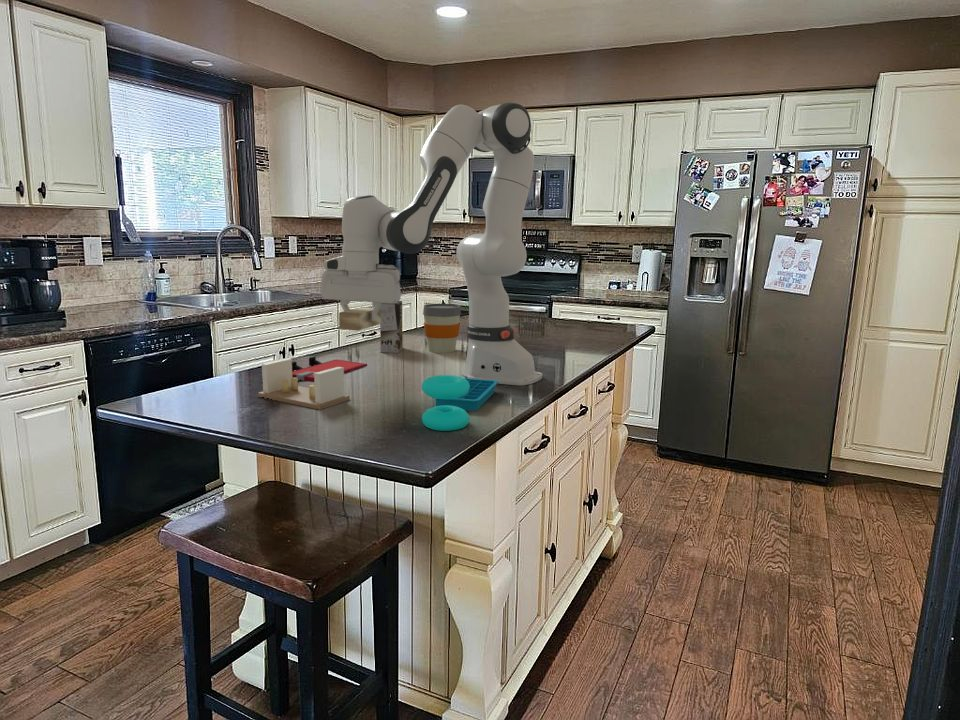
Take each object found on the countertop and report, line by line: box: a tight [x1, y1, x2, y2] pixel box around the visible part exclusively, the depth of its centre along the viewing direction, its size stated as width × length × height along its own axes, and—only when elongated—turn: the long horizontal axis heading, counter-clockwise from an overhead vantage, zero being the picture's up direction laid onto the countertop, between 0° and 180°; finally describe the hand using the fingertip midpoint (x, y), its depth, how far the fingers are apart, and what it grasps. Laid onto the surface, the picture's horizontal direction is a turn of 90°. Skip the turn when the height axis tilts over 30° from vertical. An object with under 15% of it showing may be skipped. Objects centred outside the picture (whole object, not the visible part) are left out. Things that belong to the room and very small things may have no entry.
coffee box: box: [379, 300, 403, 354], centre depth 211 cm, size 9×6×16 cm
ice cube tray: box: [433, 377, 499, 412], centre depth 155 cm, size 12×20×3 cm, turn 165°
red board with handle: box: [259, 356, 368, 382], centre depth 179 cm, size 30×3×15 cm
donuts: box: [421, 374, 470, 432], centre depth 134 cm, size 10×10×10 cm
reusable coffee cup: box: [422, 303, 462, 354], centre depth 212 cm, size 13×13×15 cm
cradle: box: [257, 357, 350, 411], centre depth 153 cm, size 20×10×8 cm, turn 60°
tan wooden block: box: [338, 306, 381, 332], centre depth 159 cm, size 13×5×4 cm, turn 164°
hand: (360, 319), depth 159 cm, fingers closed on tan wooden block, 5 cm apart
